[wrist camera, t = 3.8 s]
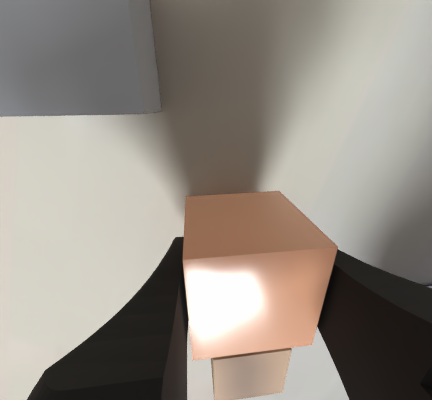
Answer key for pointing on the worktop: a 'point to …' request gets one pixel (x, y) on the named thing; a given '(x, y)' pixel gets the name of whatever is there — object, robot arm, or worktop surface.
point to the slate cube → (77, 58)
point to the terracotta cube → (252, 273)
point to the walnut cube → (250, 374)
